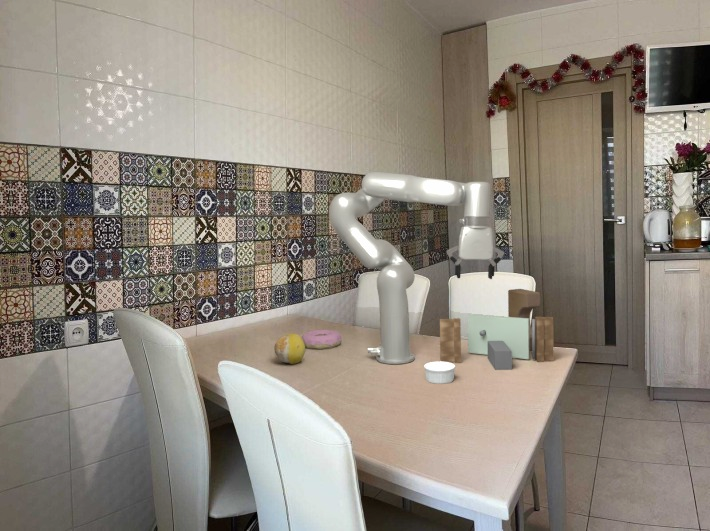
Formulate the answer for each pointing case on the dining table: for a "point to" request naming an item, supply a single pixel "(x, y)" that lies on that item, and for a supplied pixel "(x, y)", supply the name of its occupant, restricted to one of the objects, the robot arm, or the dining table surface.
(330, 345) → the donut
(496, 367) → the grey block
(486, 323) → the door
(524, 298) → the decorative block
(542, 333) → the frame
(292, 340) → the fruit
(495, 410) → the dining table surface
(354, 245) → the robot arm
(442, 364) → the ramekin
